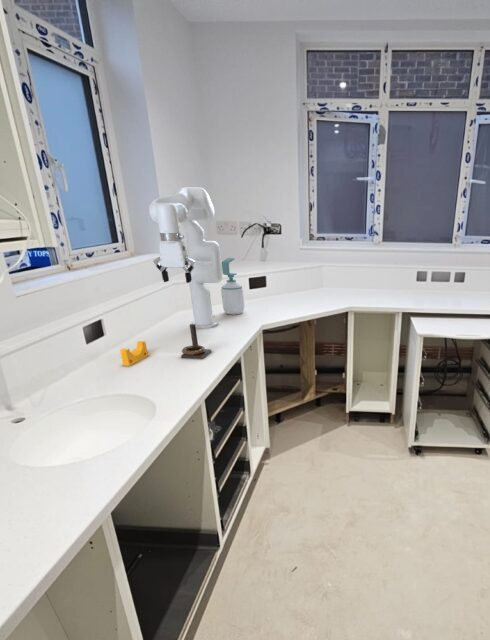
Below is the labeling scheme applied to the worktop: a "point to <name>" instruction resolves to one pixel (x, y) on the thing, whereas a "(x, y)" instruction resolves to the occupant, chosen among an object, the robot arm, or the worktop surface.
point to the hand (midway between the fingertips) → (177, 281)
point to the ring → (187, 352)
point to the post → (195, 345)
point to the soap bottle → (231, 292)
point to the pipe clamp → (134, 354)
